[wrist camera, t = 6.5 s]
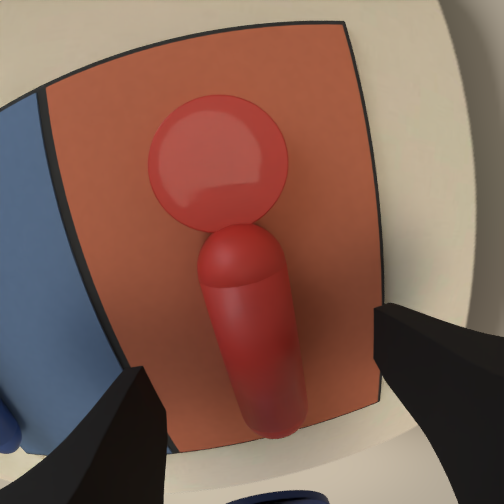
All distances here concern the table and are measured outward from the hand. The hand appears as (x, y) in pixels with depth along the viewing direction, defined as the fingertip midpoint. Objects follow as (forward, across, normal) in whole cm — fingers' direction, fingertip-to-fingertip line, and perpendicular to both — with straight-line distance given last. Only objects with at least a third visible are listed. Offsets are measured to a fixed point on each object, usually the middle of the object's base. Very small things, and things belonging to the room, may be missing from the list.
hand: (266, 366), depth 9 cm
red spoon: (+2, 0, -2) cm, 3 cm away
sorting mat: (+2, +5, -2) cm, 6 cm away
